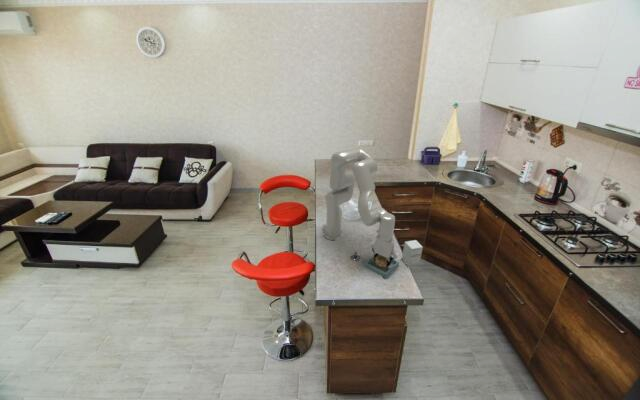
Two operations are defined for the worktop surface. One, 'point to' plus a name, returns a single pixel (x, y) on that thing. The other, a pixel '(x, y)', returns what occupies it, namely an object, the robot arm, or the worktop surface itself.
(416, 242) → the supplement box
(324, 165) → the worktop surface
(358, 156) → the robot arm
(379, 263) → the ring
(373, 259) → the tray
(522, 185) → the worktop surface
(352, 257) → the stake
